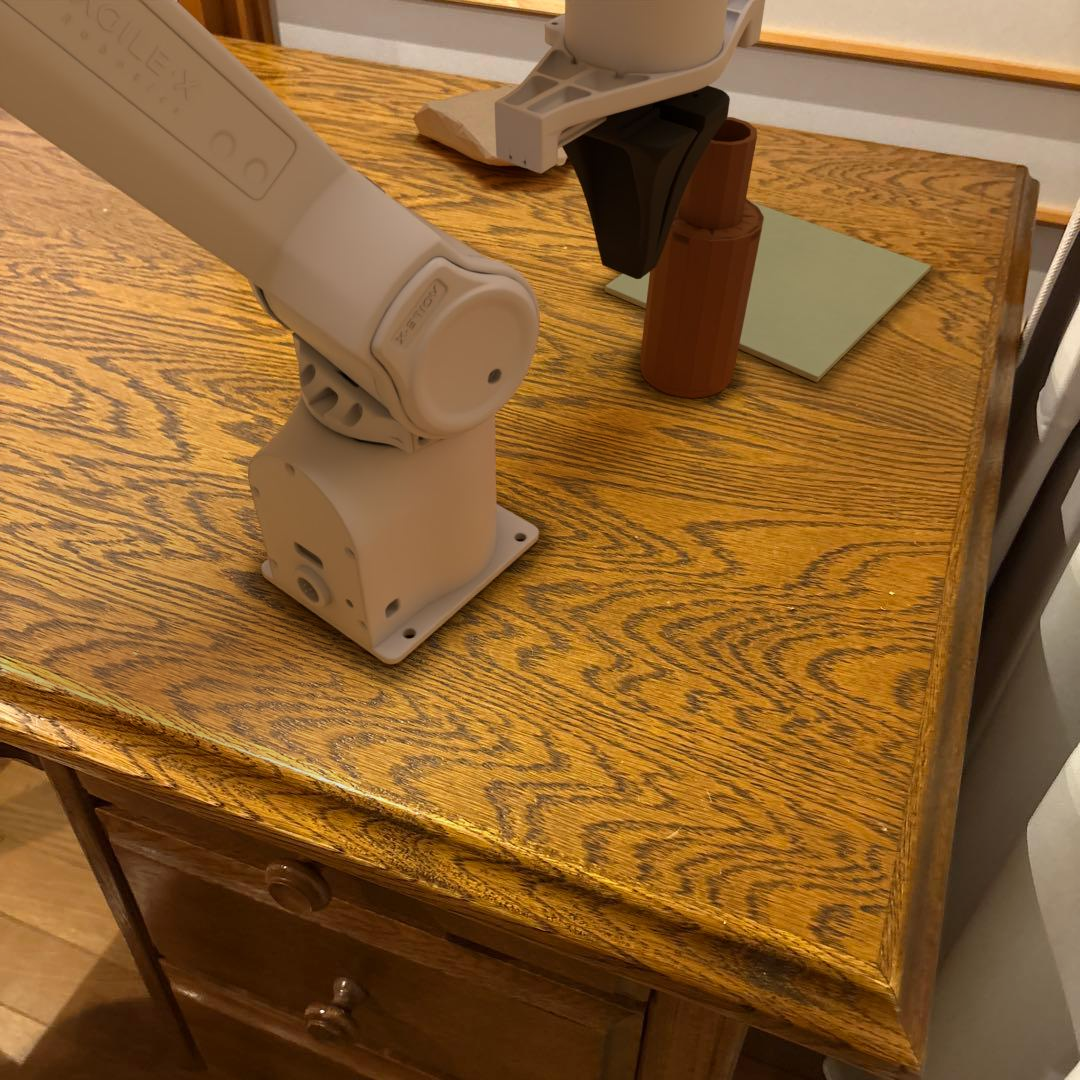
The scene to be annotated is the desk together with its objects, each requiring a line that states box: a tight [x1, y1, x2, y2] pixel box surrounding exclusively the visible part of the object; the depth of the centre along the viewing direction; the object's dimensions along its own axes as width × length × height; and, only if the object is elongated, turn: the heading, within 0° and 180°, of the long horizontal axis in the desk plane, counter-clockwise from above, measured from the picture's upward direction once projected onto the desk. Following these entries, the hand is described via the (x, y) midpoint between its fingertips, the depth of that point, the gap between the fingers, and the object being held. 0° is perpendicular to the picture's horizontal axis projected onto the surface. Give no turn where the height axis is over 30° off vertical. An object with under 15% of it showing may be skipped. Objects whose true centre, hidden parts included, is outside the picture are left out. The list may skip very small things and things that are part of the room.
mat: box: [604, 200, 932, 383], centre depth 60 cm, size 15×14×1 cm
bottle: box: [639, 116, 764, 399], centre depth 49 cm, size 5×5×13 cm
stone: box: [412, 83, 568, 167], centre depth 71 cm, size 14×4×15 cm
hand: (628, 265), depth 42 cm, fingers closed
